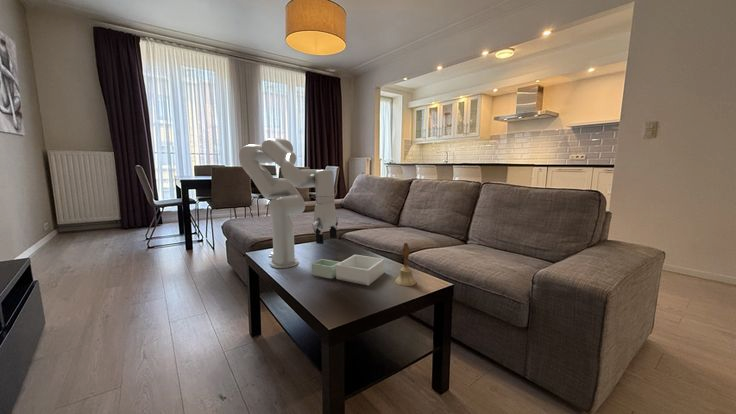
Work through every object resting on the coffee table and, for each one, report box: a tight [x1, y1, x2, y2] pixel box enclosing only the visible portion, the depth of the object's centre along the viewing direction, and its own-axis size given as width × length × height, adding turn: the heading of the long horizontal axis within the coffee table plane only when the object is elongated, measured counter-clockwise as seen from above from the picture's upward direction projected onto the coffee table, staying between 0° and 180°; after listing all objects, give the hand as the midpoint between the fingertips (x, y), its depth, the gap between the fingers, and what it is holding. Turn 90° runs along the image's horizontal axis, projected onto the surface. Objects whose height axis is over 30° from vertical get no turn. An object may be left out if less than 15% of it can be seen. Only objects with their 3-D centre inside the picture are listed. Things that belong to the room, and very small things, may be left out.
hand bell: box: [394, 242, 417, 287], centre depth 119 cm, size 8×8×16 cm
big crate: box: [335, 254, 386, 286], centre depth 126 cm, size 15×16×6 cm
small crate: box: [311, 258, 341, 280], centre depth 128 cm, size 10×7×5 cm
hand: (326, 240), depth 126 cm, fingers open, 9 cm apart
